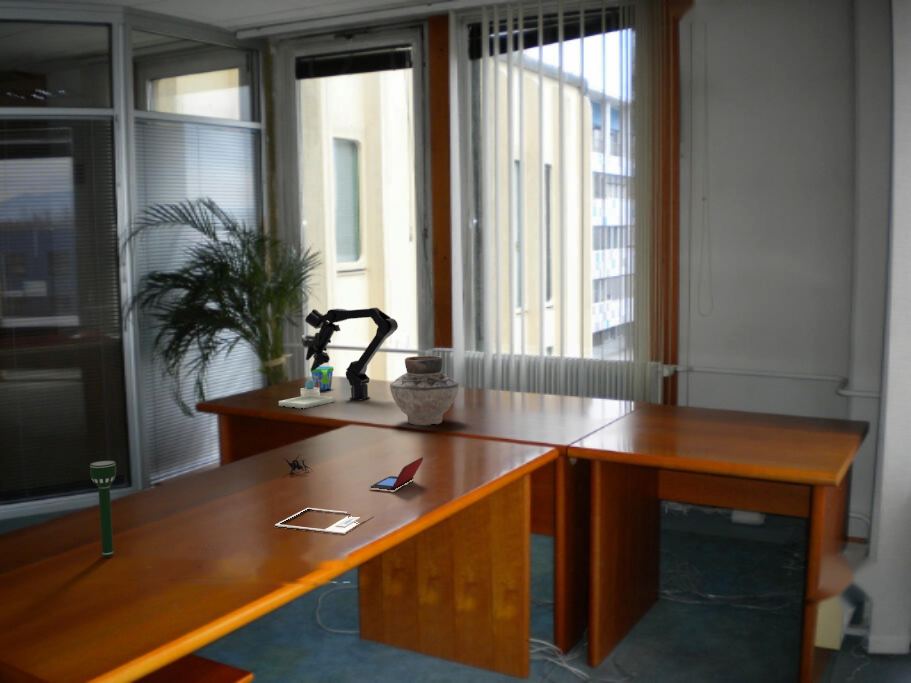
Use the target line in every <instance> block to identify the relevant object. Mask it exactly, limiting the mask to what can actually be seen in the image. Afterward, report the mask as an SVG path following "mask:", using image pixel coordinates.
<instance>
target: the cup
mask: <svg viewBox="0 0 911 683" xmlns="http://www.w3.org/2000/svg"><path fill="white" fill-rule="evenodd" d="M320 392H321V390H320V388H316V387H314V388H313V389H307V388H306V387H302V388H300V397H301V396H306V395H315V396H321V394H320Z"/></svg>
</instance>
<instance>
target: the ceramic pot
mask: <svg viewBox="0 0 911 683" xmlns="http://www.w3.org/2000/svg"><path fill="white" fill-rule="evenodd" d="M404 365H405V370H406V373H403V374H402V375H400V376H399V377H397V378H395V379H394V380H393V381H392V382H391V383H390V384H389V390H390V393H391V396H392V398H393V401H394V402H395V404H396V406H397V407H398V408H399V409H400V411H401V412H402V413H404V415H406V417H407V423H409V424H411V425H413V424H414V426H415V425H416V426H432V425H431V424H436V425H439V424H441V423H442V422H443V415H444V414H445V413H446V412H447V411H448V410H449V409H450V408H451V406H452V405H453V404H454V402H455V399H456V398H457V395H458V392H459V386H460V384H459V383H458V382H457V381H456V380H455V379H453V378H452V377H450V376H449V375H447V374H445V373H442V372H441V371H442V368H443V358H442V356H439V355H417V356H408V357H405V358H404Z"/></svg>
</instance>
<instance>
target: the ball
mask: <svg viewBox="0 0 911 683" xmlns="http://www.w3.org/2000/svg"><path fill="white" fill-rule="evenodd" d="M304 386H305V388H307V389H313V388H314V386H315V384H314V382H313V380H307V381H306V382H305V384H304Z"/></svg>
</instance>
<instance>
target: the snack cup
mask: <svg viewBox="0 0 911 683" xmlns="http://www.w3.org/2000/svg"><path fill="white" fill-rule="evenodd" d="M309 370H310V371H309V372H310V373H311V378H312V381H313V382H314V384H315V386H314V387H316V388H320V391H328V390H327V389H329V390H331V388H332V383H333V374H334V373H333V372H334V370H335V369H334V366H330V365H324V366H323V365H320V366H319V367H318V368H316V369H315V370H313V371H312V370H311V367H309Z"/></svg>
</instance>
